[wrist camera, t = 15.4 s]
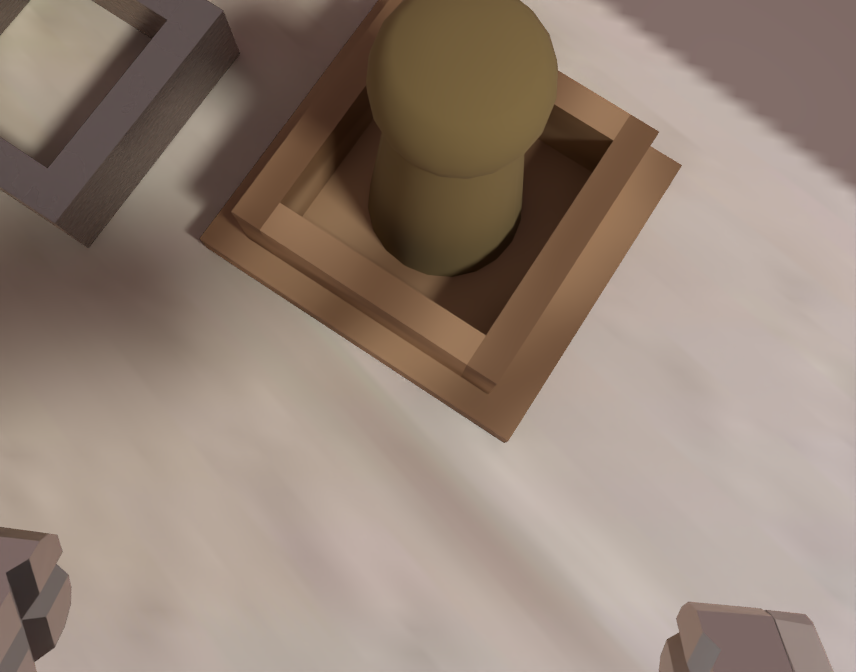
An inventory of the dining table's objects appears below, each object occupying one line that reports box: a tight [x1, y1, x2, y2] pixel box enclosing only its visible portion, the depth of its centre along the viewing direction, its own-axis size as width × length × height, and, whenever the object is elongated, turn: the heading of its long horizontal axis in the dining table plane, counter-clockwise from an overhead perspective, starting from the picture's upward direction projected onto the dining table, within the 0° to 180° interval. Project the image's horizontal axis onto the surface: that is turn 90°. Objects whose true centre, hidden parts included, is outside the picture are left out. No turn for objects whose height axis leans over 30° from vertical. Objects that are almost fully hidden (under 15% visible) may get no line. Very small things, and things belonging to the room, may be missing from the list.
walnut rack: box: [200, 0, 682, 443], centre depth 29 cm, size 14×13×4 cm
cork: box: [366, 0, 558, 277], centre depth 25 cm, size 6×6×11 cm
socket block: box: [0, 0, 240, 248], centre depth 31 cm, size 10×10×3 cm
